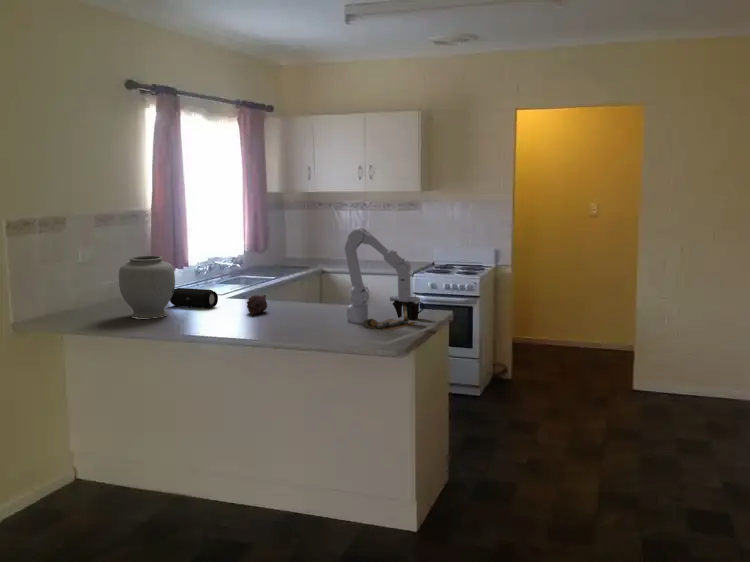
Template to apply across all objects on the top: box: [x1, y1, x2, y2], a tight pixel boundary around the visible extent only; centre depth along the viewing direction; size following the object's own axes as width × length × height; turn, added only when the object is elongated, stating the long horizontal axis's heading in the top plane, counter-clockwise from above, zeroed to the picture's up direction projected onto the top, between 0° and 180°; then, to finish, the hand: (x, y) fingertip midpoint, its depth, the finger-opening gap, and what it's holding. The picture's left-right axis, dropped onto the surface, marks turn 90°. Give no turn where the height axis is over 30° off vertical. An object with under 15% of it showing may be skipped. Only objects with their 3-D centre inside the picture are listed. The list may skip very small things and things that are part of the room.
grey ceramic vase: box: [118, 255, 176, 318], centre depth 371 cm, size 27×27×30 cm
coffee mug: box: [402, 296, 425, 321], centre depth 351 cm, size 12×9×10 cm
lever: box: [375, 310, 410, 330], centre depth 332 cm, size 3×18×6 cm, turn 128°
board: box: [363, 318, 418, 331], centre depth 335 cm, size 17×21×4 cm
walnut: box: [370, 319, 378, 327], centre depth 331 cm, size 3×3×3 cm
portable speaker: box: [169, 287, 219, 309], centre depth 396 cm, size 26×10×10 cm, turn 66°
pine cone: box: [246, 294, 268, 316], centre depth 375 cm, size 18×10×10 cm
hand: (404, 317), depth 338 cm, fingers open, 5 cm apart
